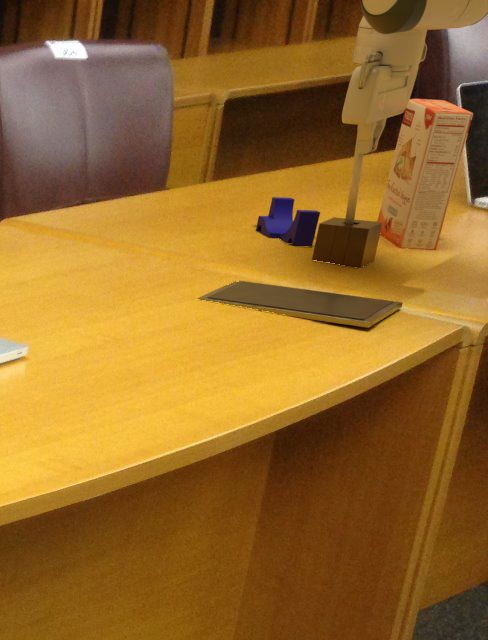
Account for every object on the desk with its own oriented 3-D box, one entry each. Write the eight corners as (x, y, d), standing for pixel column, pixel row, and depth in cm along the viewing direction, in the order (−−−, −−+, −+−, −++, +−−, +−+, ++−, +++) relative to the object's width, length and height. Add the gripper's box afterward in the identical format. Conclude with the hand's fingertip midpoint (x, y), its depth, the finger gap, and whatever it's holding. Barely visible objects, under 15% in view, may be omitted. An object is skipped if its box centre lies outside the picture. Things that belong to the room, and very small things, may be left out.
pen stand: (373, 263, 231) (382, 222, 228) (359, 270, 226) (369, 228, 223) (325, 257, 235) (333, 217, 232) (310, 264, 230) (319, 223, 227)
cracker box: (371, 231, 252) (406, 97, 242) (410, 234, 251) (447, 99, 241) (395, 250, 239) (433, 109, 230) (436, 252, 239) (476, 111, 229)
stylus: (353, 229, 228) (368, 128, 223) (351, 230, 227) (365, 129, 222) (345, 228, 229) (359, 128, 223) (342, 230, 228) (356, 129, 222)
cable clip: (254, 234, 249) (263, 196, 247) (282, 235, 249) (291, 197, 247) (281, 250, 239) (290, 211, 236) (310, 251, 239) (320, 212, 236)
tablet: (401, 307, 204) (403, 301, 204) (368, 327, 194) (370, 321, 194) (235, 284, 217) (236, 279, 217) (196, 303, 207) (197, 297, 206)
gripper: (390, 55, 208) (367, 161, 214) (430, 47, 222) (407, 146, 228) (342, 53, 212) (321, 157, 218) (384, 45, 226) (363, 143, 232)
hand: (365, 152), depth 223 cm, fingers closed on stylus, 1 cm apart
